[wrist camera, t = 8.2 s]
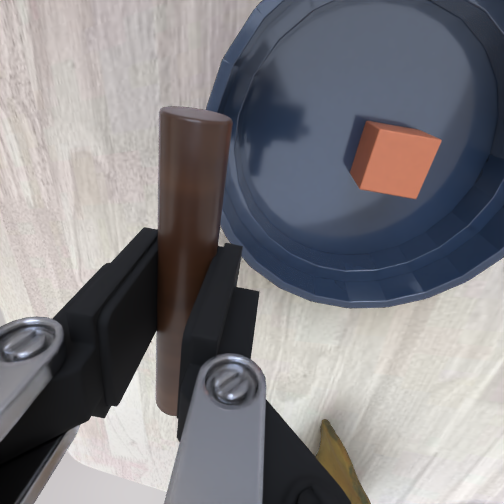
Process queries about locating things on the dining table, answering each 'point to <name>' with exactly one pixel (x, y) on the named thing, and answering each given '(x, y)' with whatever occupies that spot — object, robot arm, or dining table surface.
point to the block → (393, 159)
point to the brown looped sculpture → (339, 464)
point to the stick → (185, 227)
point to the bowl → (347, 140)
